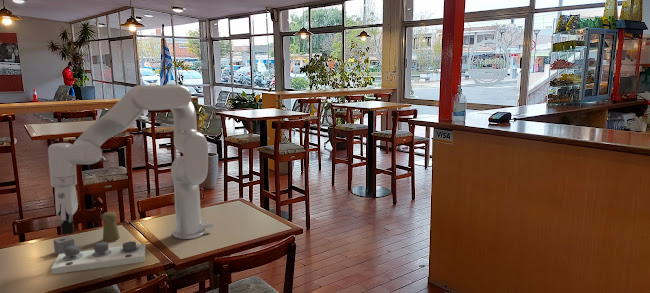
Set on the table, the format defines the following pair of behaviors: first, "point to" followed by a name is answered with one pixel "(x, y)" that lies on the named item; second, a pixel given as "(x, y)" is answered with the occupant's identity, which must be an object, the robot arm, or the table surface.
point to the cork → (110, 227)
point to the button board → (98, 259)
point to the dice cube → (62, 244)
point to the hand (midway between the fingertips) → (68, 233)
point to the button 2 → (129, 246)
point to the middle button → (101, 247)
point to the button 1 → (72, 250)
